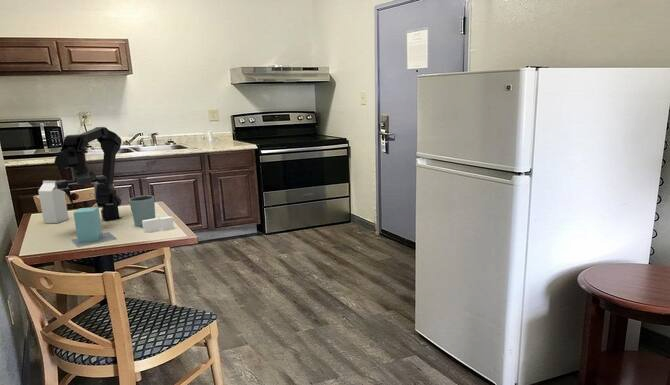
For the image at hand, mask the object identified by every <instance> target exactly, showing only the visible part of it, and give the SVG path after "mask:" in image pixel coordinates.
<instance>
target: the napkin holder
mask: <svg viewBox="0 0 670 385" xmlns="http://www.w3.org/2000/svg"><path fill="white" fill-rule="evenodd" d="M142 224H143V227H142V230H143V232H144V233H152V232H158V231H159V232H161V231H169V230H174V229H175V227H174V226H175V224H174V217H173V216H172V215H171V216H165V217H160V216H159V217H155V218H154V219H148V220H142Z"/></svg>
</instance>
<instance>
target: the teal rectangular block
mask: <svg viewBox="0 0 670 385" xmlns="http://www.w3.org/2000/svg"><path fill="white" fill-rule="evenodd" d="M72 214H73V220H74V225H75V231H76V239H77V238H78V243H83V242H93V241H98V240H99V239H100V238H101V237H102V236H103V234H102V233H103V228H102V221H101V216H100V214H101V213H100V207H98V206H93V207H92V206H91V207H82V208H78V209H76V210H75V211H74V212H72Z"/></svg>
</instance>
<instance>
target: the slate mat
mask: <svg viewBox="0 0 670 385" xmlns="http://www.w3.org/2000/svg"><path fill="white" fill-rule="evenodd" d="M102 234H103V236H102V237H101V238H100V239H99V240H98V241H93V242H83V243H78V238H77V237H76V238H72V239H70V240H71V242H72V243H73V244H74V245H75V246H76V247H77V248H81V247H86V246H90V245H94V244H101V243H105V242H109V241H115V240H118V238H117V237H116V236H114V235H113V233H111V232H110V231H108V232H102Z"/></svg>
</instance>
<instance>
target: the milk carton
mask: <svg viewBox="0 0 670 385" xmlns="http://www.w3.org/2000/svg"><path fill="white" fill-rule="evenodd" d="M56 181H57V180H42V185H41V186H40V188H38V191H37V192H38V196H39V197H38V198H39V202H40V209H41V213H42V221H43V223H44V224H58V223H61V222H64V221H65V222H66V221H68V220H70V219H69V213H68V205H67V201H66V193H65V192H64V191H61V190H60V189H57V188H55V182H56Z"/></svg>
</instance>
